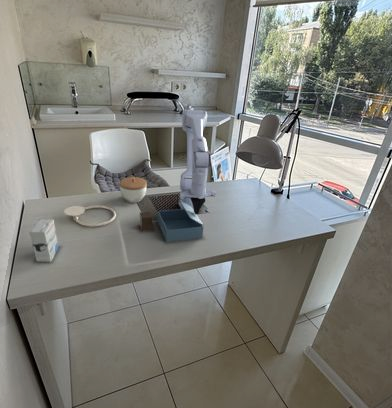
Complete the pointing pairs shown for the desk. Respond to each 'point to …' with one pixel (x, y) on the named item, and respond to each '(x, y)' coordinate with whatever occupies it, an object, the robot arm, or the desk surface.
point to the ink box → (44, 240)
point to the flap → (190, 212)
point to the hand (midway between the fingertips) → (196, 213)
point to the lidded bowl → (133, 189)
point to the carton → (178, 225)
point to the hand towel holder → (78, 210)
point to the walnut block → (146, 221)
